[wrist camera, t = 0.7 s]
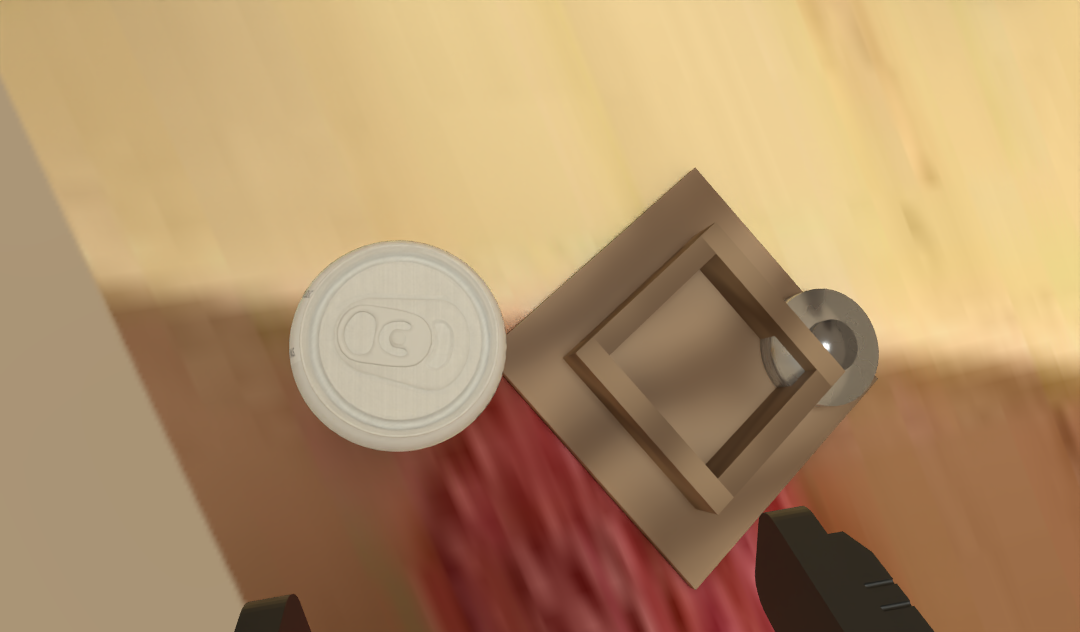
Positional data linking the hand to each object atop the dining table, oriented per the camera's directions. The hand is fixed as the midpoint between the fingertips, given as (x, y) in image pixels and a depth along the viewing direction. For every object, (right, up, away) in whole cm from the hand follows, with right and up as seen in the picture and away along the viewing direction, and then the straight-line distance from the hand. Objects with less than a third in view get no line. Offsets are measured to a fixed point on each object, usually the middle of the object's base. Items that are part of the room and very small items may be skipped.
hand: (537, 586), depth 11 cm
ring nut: (+15, +3, +26) cm, 30 cm away
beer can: (-7, +2, +21) cm, 22 cm away
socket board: (+8, +2, +24) cm, 26 cm away
